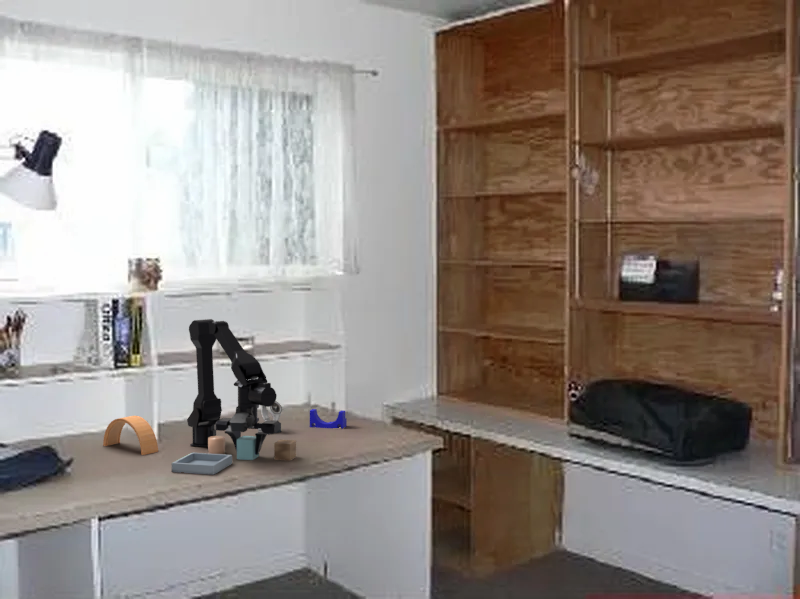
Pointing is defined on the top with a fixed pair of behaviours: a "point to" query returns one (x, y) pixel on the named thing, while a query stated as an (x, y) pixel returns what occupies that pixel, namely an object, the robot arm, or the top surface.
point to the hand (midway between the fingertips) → (248, 454)
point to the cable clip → (319, 423)
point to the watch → (272, 413)
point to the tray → (202, 463)
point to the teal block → (246, 448)
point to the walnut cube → (285, 450)
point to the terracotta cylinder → (216, 445)
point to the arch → (141, 430)
